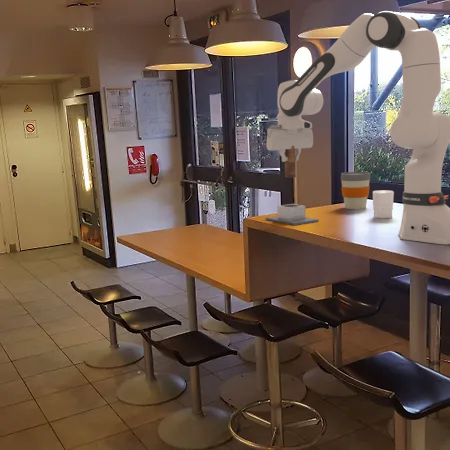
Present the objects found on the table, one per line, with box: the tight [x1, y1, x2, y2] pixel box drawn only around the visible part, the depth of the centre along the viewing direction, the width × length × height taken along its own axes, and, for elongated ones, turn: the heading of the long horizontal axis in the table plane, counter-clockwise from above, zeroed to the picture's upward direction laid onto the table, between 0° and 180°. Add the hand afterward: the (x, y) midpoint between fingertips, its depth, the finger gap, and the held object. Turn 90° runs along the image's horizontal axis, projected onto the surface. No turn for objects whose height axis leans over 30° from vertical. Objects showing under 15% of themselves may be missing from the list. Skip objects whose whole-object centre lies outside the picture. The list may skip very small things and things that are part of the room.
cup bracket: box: [265, 203, 319, 226], centre depth 217 cm, size 18×12×6 cm, turn 32°
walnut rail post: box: [284, 146, 297, 179], centre depth 213 cm, size 4×4×12 cm
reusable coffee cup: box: [340, 171, 371, 210], centre depth 241 cm, size 13×13×15 cm
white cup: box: [372, 189, 395, 219], centre depth 216 cm, size 8×8×10 cm
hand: (290, 161), depth 213 cm, fingers closed on walnut rail post, 4 cm apart
